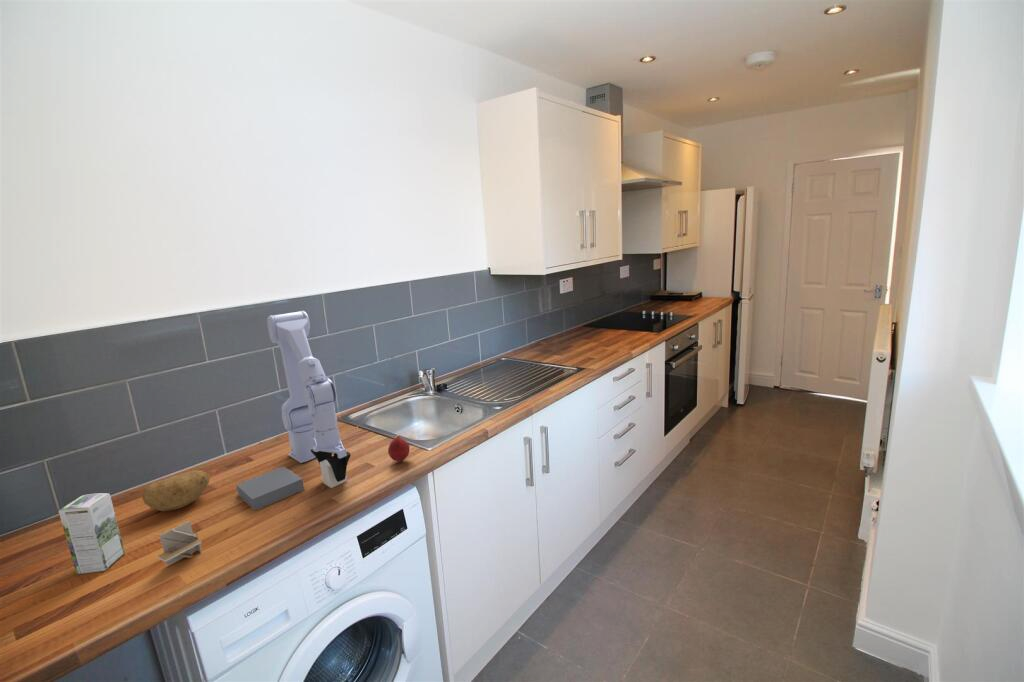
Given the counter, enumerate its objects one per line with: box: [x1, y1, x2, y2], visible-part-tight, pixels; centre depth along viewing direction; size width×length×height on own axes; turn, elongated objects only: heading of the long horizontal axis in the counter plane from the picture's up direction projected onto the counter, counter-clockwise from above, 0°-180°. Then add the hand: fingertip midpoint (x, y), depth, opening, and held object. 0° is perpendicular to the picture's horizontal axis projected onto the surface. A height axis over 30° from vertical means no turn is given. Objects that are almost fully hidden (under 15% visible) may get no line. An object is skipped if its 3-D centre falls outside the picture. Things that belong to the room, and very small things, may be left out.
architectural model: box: [157, 520, 203, 567], centre depth 96 cm, size 3×7×7 cm, turn 148°
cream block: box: [319, 460, 348, 489], centre depth 125 cm, size 4×4×6 cm
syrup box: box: [58, 492, 125, 575], centre depth 97 cm, size 6×6×14 cm
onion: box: [387, 434, 410, 463], centre depth 133 cm, size 6×6×8 cm
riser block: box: [235, 465, 305, 511], centre depth 122 cm, size 12×12×3 cm
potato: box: [142, 470, 211, 512], centre depth 119 cm, size 10×14×8 cm
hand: (334, 475), depth 125 cm, fingers open, 7 cm apart
